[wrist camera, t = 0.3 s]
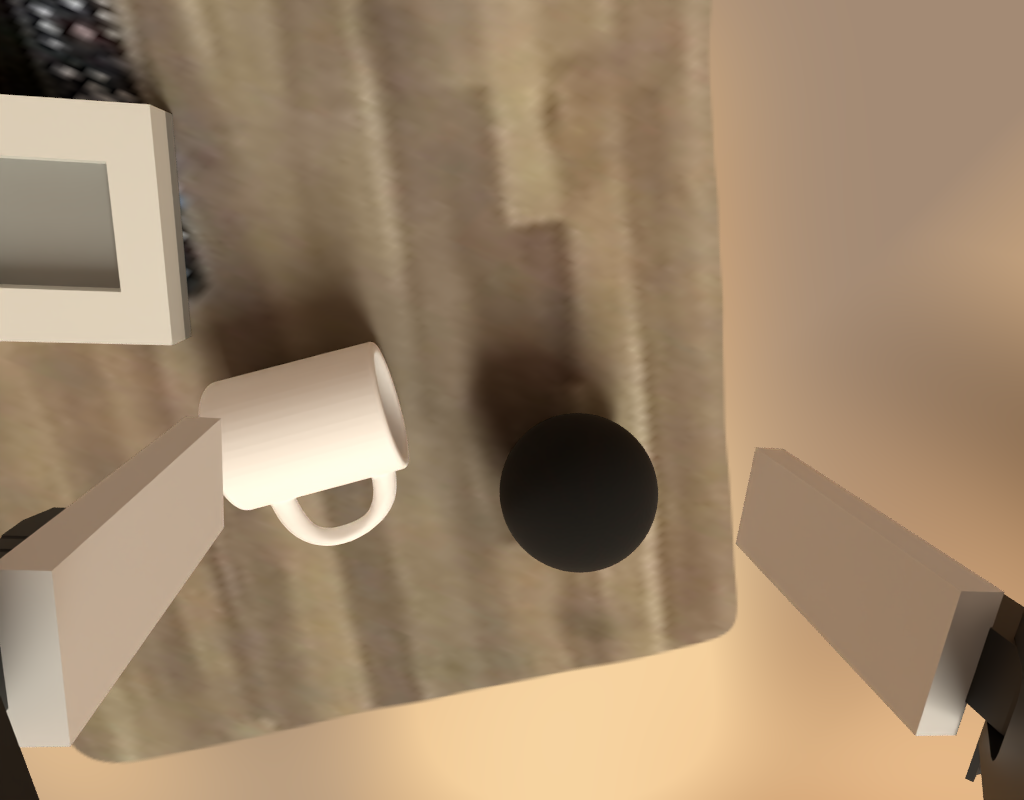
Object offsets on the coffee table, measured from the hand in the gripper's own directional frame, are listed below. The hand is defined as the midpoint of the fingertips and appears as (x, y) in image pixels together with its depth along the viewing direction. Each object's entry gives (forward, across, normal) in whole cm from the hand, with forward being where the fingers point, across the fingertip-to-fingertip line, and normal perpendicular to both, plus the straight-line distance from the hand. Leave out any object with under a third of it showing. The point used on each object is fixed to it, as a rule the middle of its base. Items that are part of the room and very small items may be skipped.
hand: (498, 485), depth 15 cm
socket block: (+27, -24, +4) cm, 36 cm away
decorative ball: (+27, +8, -10) cm, 30 cm away
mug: (+28, -8, -8) cm, 30 cm away
